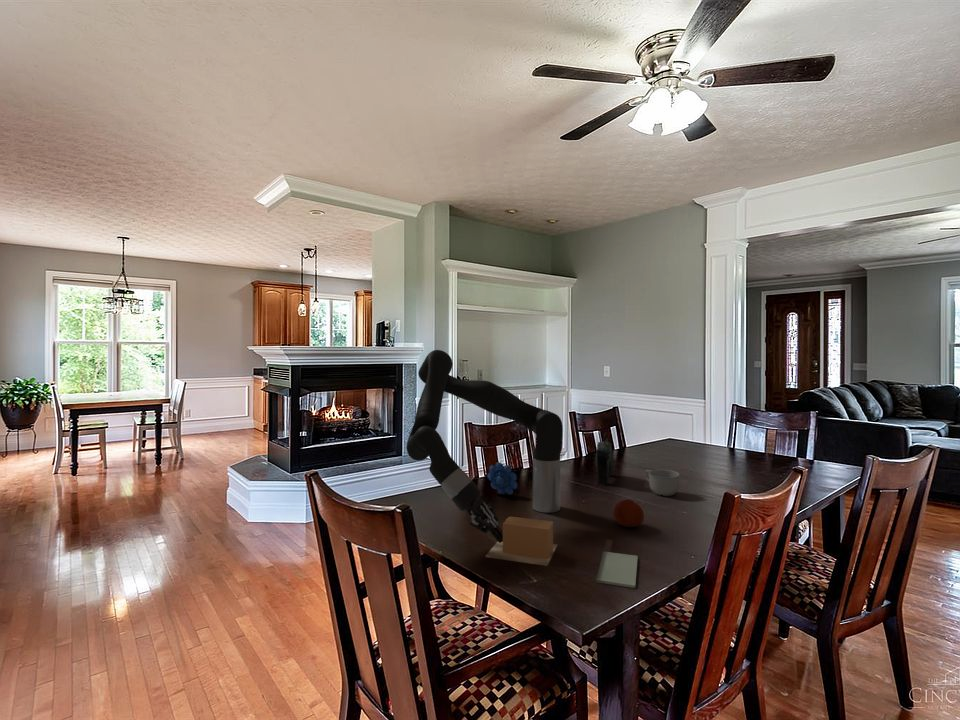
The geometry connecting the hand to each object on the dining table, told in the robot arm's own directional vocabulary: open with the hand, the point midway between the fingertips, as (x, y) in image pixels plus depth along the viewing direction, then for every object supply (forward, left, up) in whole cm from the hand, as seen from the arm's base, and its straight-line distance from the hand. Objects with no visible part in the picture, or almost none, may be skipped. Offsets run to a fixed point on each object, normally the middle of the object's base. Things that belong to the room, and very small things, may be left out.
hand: (503, 540), depth 130 cm
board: (0, +5, -4) cm, 6 cm away
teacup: (-73, +40, -4) cm, 84 cm away
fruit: (-32, +30, -4) cm, 44 cm away
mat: (0, +24, -4) cm, 24 cm away
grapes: (-50, -16, -4) cm, 53 cm away
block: (0, +7, -2) cm, 7 cm away
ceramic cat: (-85, +18, -4) cm, 87 cm away
